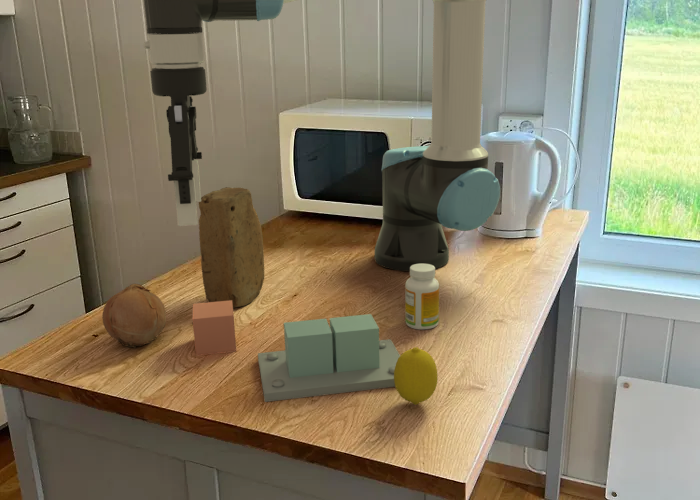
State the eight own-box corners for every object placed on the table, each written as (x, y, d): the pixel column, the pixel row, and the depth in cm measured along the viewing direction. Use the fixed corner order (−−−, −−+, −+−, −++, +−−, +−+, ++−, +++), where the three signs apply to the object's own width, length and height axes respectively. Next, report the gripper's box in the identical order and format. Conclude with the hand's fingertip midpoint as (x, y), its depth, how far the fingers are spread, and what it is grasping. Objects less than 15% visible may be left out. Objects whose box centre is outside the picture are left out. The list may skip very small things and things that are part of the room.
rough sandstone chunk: (233, 313, 121) (224, 199, 115) (200, 305, 125) (189, 194, 118) (272, 292, 130) (265, 185, 123) (240, 286, 133) (232, 181, 127)
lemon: (391, 394, 94) (390, 339, 92) (432, 392, 94) (433, 337, 92) (397, 416, 89) (397, 359, 86) (441, 414, 89) (442, 356, 87)
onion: (139, 349, 116) (139, 287, 117) (179, 346, 110) (178, 282, 112) (89, 350, 108) (89, 284, 109) (129, 347, 103) (129, 278, 104)
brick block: (234, 335, 113) (232, 300, 111) (236, 351, 107) (233, 315, 106) (196, 339, 112) (192, 303, 110) (196, 355, 106) (192, 319, 104)
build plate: (390, 346, 108) (390, 302, 105) (412, 384, 96) (412, 336, 94) (258, 360, 104) (255, 315, 102) (264, 401, 93) (261, 352, 91)
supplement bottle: (441, 318, 117) (442, 263, 114) (434, 332, 112) (435, 274, 109) (409, 315, 119) (410, 260, 116) (401, 328, 114) (401, 271, 111)
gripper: (158, 61, 111) (170, 194, 117) (139, 72, 87) (156, 238, 94) (207, 60, 112) (217, 192, 118) (201, 71, 88) (214, 234, 95)
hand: (190, 212), depth 106 cm, fingers open, 13 cm apart
